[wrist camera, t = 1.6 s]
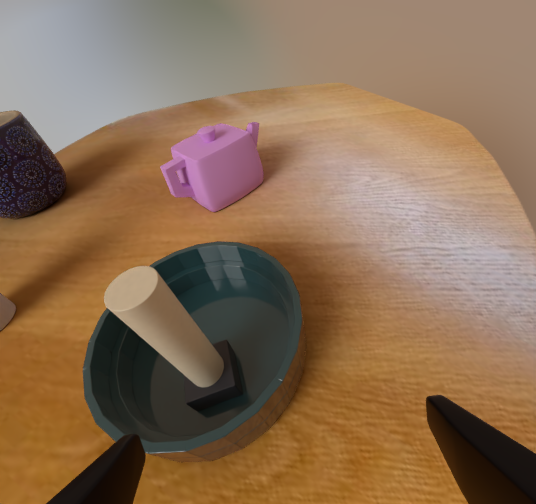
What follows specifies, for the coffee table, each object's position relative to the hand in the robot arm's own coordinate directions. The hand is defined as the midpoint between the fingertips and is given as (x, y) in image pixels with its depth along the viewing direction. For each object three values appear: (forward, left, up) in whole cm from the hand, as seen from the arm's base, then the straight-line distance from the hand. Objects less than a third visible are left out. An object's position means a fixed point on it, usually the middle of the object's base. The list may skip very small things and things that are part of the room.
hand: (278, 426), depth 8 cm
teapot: (+29, +27, -15) cm, 42 cm away
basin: (+4, +12, -15) cm, 19 cm away
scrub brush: (+2, +9, -14) cm, 17 cm away
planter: (+14, +66, -15) cm, 69 cm away
